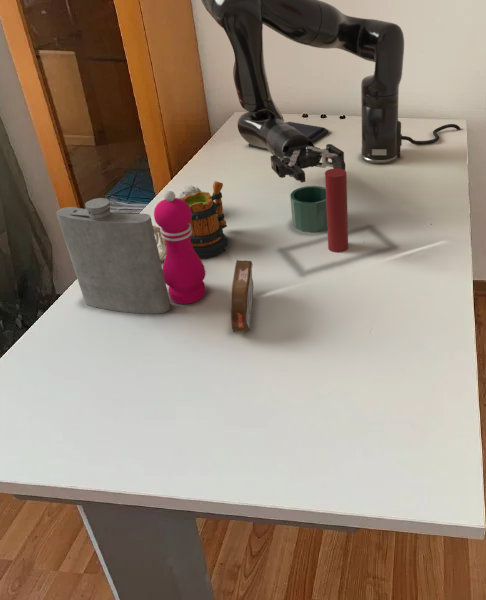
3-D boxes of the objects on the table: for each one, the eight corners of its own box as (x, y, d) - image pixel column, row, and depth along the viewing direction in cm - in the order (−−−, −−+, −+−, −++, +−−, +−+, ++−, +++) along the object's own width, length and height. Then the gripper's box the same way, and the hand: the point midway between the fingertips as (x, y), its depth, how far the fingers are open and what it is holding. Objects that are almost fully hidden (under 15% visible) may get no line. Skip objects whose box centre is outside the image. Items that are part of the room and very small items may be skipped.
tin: (239, 290, 113) (234, 250, 108) (257, 290, 113) (252, 249, 108) (232, 343, 101) (225, 300, 96) (252, 342, 101) (246, 299, 96)
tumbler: (322, 212, 138) (320, 182, 134) (340, 228, 132) (339, 197, 128) (286, 220, 135) (283, 191, 131) (303, 237, 129) (300, 207, 125)
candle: (342, 240, 127) (340, 166, 118) (351, 249, 124) (350, 174, 115) (324, 245, 125) (321, 170, 116) (333, 254, 123) (330, 178, 113)
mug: (208, 264, 120) (199, 210, 114) (167, 252, 124) (155, 199, 117) (248, 235, 130) (241, 183, 123) (208, 224, 134) (200, 174, 127)
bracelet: (128, 270, 119) (118, 233, 114) (158, 251, 124) (150, 215, 120) (143, 275, 117) (134, 238, 112) (173, 256, 123) (166, 220, 118)
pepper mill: (216, 288, 114) (200, 186, 102) (192, 309, 108) (173, 204, 97) (183, 280, 116) (164, 179, 105) (158, 300, 110) (135, 196, 99)
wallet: (292, 149, 164) (245, 139, 170) (293, 156, 165) (246, 146, 171) (331, 125, 178) (286, 117, 184) (331, 132, 179) (287, 124, 185)
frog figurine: (188, 225, 134) (182, 195, 130) (173, 213, 138) (167, 184, 134) (213, 216, 137) (208, 186, 133) (198, 205, 141) (192, 176, 137)
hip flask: (173, 303, 110) (150, 200, 98) (163, 317, 106) (138, 211, 95) (91, 294, 112) (59, 191, 101) (78, 307, 109) (44, 203, 97)
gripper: (320, 156, 138) (355, 183, 126) (259, 169, 132) (291, 198, 120) (318, 123, 134) (355, 147, 122) (256, 135, 128) (288, 161, 116)
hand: (323, 173), depth 121 cm, fingers open, 8 cm apart
